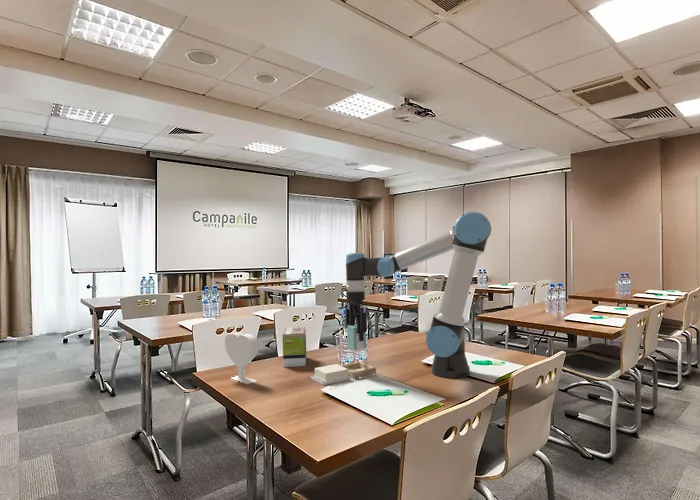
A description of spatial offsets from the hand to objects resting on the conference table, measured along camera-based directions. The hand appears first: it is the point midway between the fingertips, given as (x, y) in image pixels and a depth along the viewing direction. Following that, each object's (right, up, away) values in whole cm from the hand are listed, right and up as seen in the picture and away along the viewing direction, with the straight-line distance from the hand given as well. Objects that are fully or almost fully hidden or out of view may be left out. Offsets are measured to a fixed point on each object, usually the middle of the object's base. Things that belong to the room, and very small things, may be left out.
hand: (356, 347), depth 164 cm
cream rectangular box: (-10, -11, -7) cm, 16 cm away
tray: (0, -11, 0) cm, 11 cm away
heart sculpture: (-45, -12, -5) cm, 47 cm away
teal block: (0, 0, 0) cm, 0 cm away
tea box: (-27, -12, +19) cm, 35 cm away
